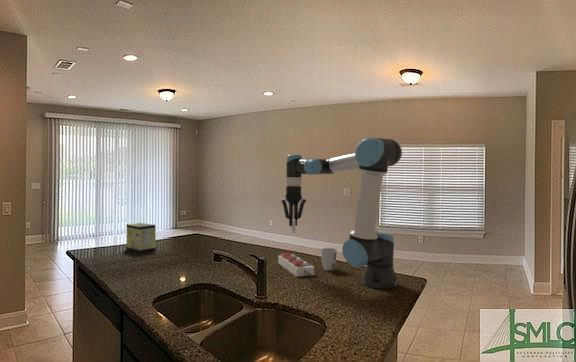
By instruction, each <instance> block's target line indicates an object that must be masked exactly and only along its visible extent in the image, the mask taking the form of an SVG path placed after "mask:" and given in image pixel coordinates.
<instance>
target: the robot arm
mask: <svg viewBox="0 0 576 362" xmlns="http://www.w3.org/2000/svg"><path fill="white" fill-rule="evenodd" d="M402 155H403V150H402V147H401V145H400V144H399V143H398V141H396V140H394V139H392V138H383V137H382V138H380V137H367V138H364V139H362V140H361V141H359V143H358V144H357V146H356V148H355V152H353V153H352V152H351V153H347V154H343V155H338V156H334V157H330V158H302V155H301V154H287V156H286V175H285V176H286V178H285V179H286V186H285V187H286V188H285V190H286V191H285V196H284V198H283V199H280V202H281V204H282V207H283V211H284V216H285V218H286V219H288V225H289V227H290V233H291V234H295V233H296V227H297V226H298V220H299V219H301V217H302V214H303V210H304V205H305V204H306V202H307V199H305V198H303V197H302V186H301V185H302V175H310V176H312V175H314V176H315V175H334V174H336V173H339V172H345V171H351V170H356V169H358V170H359V171H360V172H361V177H360V185H359V191H358V198H357V206H356V213H355V220H354V221H355V222H354V227H353V229H352V230H350V232H349V237H348V239H347V240H346V241H344V243H343V245H342V247H341V249H342V251H341V252H342V255H343V258H344V259H345V262H346V263H347V264H348V265H350V266H351V267H355V268H361V267H365V266H366V267H365V269H364V272H363V276H362V279H361V280H362V282H361V283H362V285H364V286H366V287H369V288H374V289H384V290H385V289H393V288H396V287H397V286H398V279H397V276H396V272H395V269H394V255H395V254H394V251H395V249H394V248H395V240H394V239H395V237H394V235H393V234H390V233H385V232H378V231H377V232H376V226H377V219H378V212H379V204H380V197H381V191H382V184H383V177H384V176H385V175H386V174H387V173H388V171H389V169H388V168H389V167H392V166H395V165H397V164H398V163H399V161H401V159H402V157H403V156H402ZM287 202H288V204H287Z"/></svg>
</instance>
